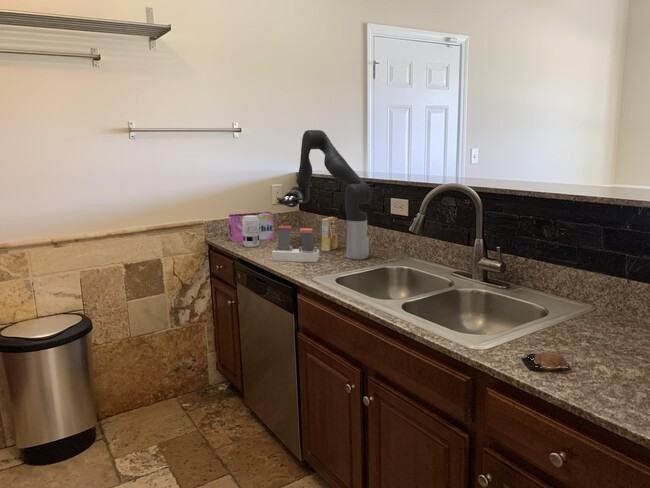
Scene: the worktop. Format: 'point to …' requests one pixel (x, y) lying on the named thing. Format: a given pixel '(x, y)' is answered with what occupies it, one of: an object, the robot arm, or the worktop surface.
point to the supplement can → (250, 230)
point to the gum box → (264, 226)
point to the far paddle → (284, 237)
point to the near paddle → (307, 239)
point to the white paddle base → (295, 255)
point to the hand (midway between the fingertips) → (285, 203)
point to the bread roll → (546, 363)
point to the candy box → (329, 233)
